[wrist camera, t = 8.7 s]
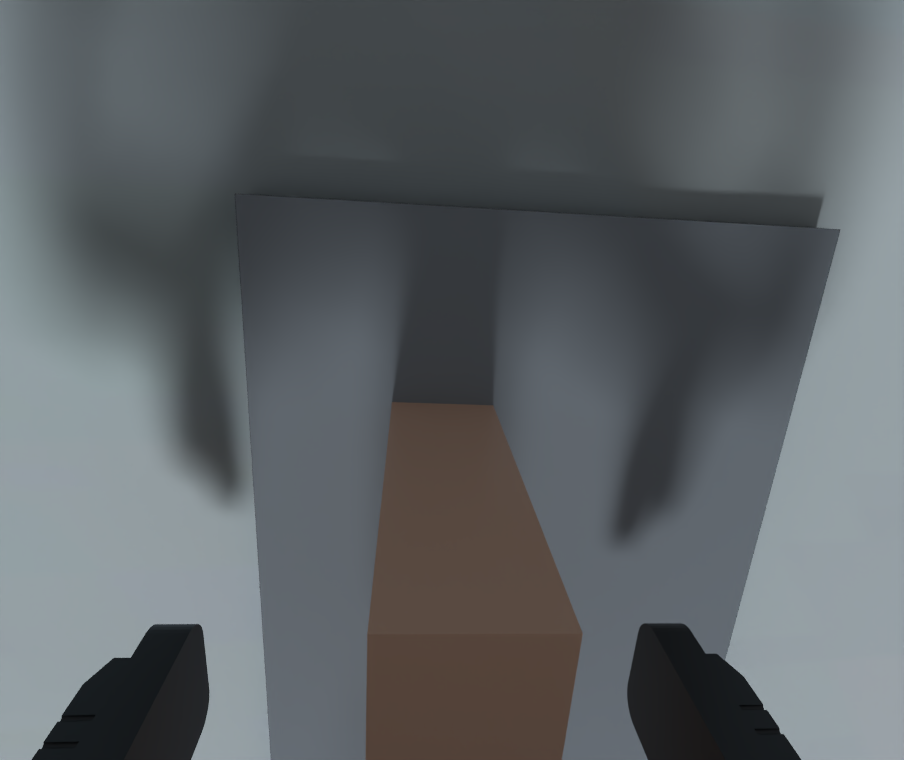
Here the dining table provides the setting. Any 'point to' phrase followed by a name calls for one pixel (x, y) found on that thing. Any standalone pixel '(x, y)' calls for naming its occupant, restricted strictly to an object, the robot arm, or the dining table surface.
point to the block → (464, 600)
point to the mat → (516, 420)
